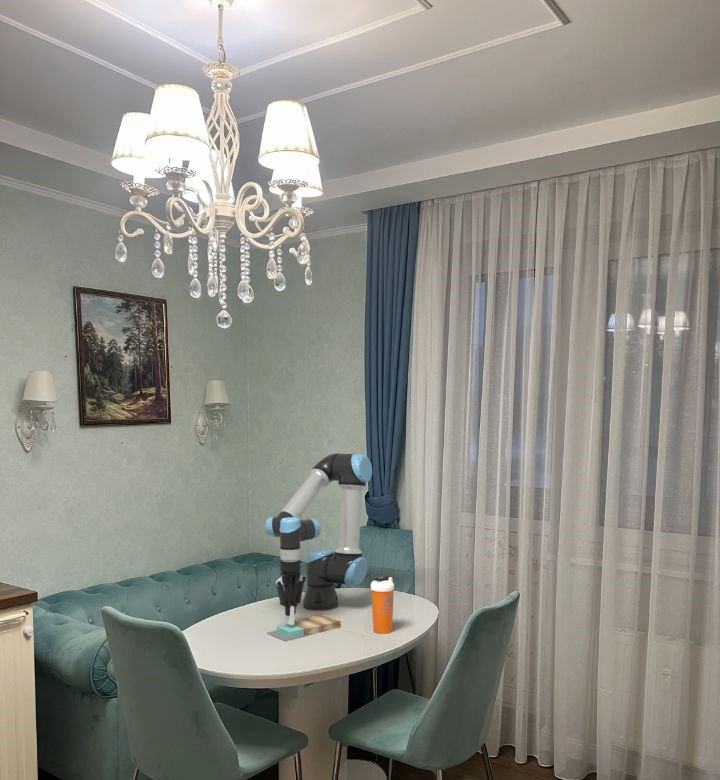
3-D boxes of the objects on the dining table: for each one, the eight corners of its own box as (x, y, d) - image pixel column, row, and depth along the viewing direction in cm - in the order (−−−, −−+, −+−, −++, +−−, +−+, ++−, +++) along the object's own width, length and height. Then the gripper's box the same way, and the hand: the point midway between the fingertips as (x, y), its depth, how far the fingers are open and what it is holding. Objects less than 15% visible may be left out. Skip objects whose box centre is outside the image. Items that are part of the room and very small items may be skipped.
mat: (286, 628, 270) (286, 628, 270) (305, 636, 261) (305, 635, 261) (266, 633, 264) (266, 632, 264) (285, 641, 255) (284, 640, 255)
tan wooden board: (321, 620, 280) (321, 614, 280) (340, 627, 271) (340, 620, 271) (288, 628, 270) (288, 621, 270) (306, 635, 261) (306, 629, 261)
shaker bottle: (365, 631, 266) (365, 577, 267) (381, 625, 273) (381, 573, 273) (383, 636, 260) (383, 580, 261) (399, 630, 266) (399, 576, 267)
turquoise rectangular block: (290, 628, 269) (290, 623, 269) (304, 634, 262) (304, 628, 262) (276, 631, 265) (276, 626, 265) (290, 637, 258) (290, 632, 258)
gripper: (298, 556, 272) (299, 618, 271) (269, 560, 263) (270, 625, 262) (310, 559, 266) (310, 622, 265) (281, 563, 257) (281, 629, 257)
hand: (290, 623), depth 264 cm, fingers closed
